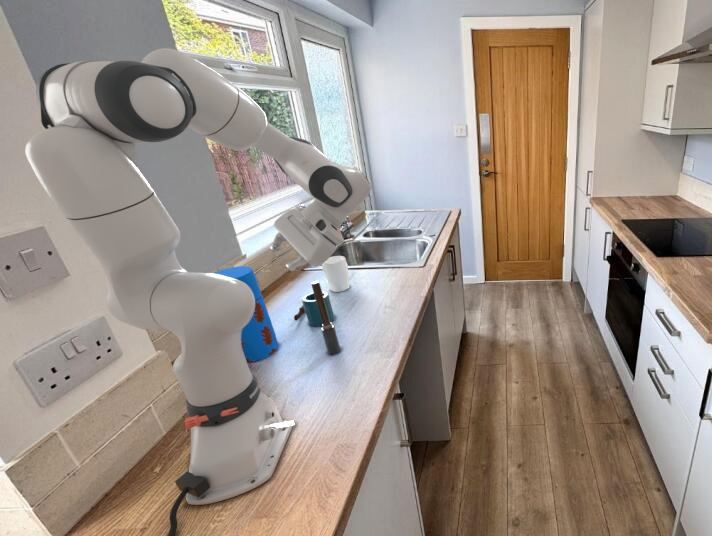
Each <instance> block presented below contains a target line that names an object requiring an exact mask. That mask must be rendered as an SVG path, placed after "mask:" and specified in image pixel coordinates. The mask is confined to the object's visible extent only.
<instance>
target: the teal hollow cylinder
mask: <svg viewBox="0 0 712 536" xmlns="http://www.w3.org/2000/svg"><path fill="white" fill-rule="evenodd" d="M322 294H323V297H324V301H325V305H326V308H327V312H328V316H329V319H330V322H331V323H332V322H333V321H334V320H335V314H334V310H333V305H332V304H331V299H330V295H329V293H328V292H327V291H325V290H322ZM301 302H302V305H304V309H305V312H304V313H305V315H306V318H307V321H308V324H309V325H310V326H311V327H322V324H323V323H322V320H321V316H320V313H319V309H318V306H317V302H316V299H315V295H314V292H310V293H307V294H305V295H304V296H303V297H302V298H301Z"/></svg>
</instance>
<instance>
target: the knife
mask: <svg viewBox="0 0 712 536" xmlns="http://www.w3.org/2000/svg"><path fill="white" fill-rule="evenodd" d="M305 313H306V312H305V309H304V305H303V304H302V305H301V307H299V310H298V312H297V313H296V314H295V315H294V316H293V319H294V321H296V322H297V321H298V320H299V319H300V318H301V317H302V316H303V314H305Z"/></svg>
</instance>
